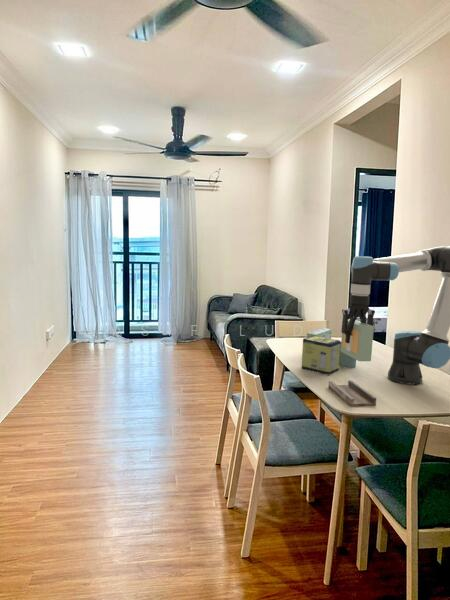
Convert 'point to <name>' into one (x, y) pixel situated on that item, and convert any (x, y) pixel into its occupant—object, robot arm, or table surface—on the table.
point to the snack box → (321, 333)
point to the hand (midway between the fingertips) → (355, 350)
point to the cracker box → (359, 341)
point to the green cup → (346, 360)
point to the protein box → (320, 355)
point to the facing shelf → (353, 394)
